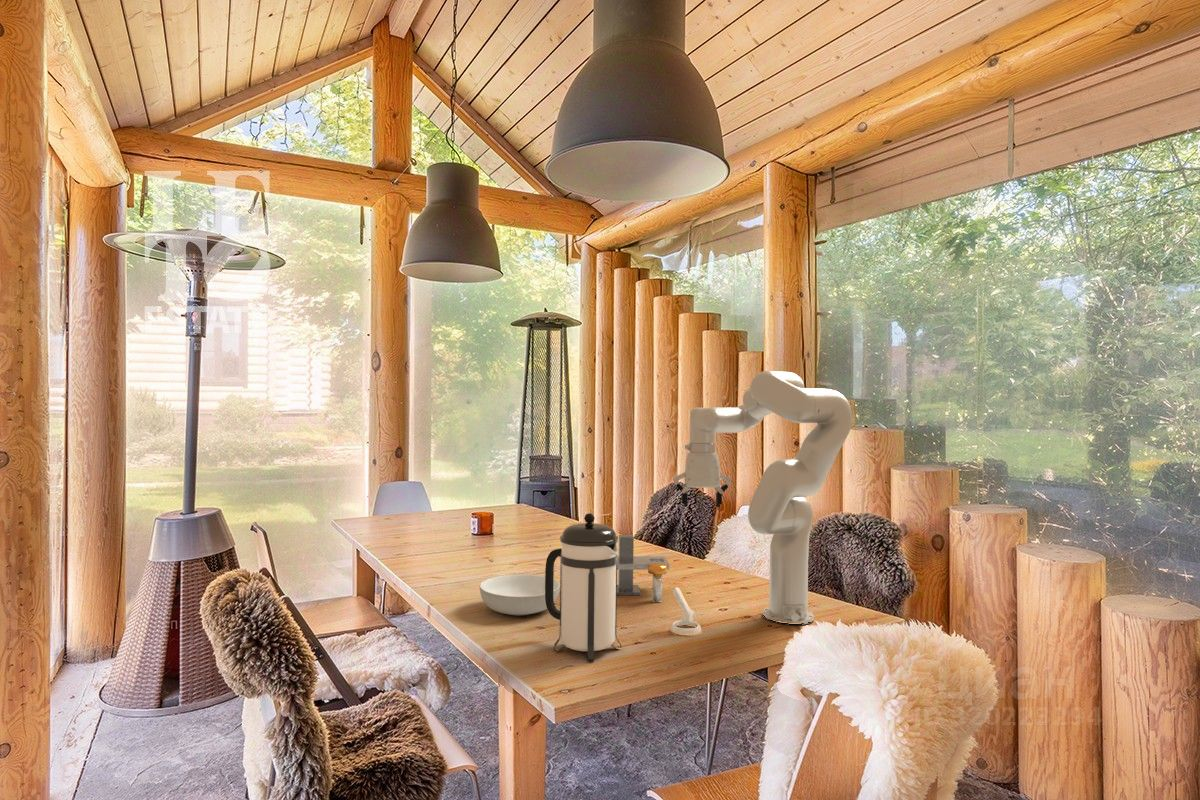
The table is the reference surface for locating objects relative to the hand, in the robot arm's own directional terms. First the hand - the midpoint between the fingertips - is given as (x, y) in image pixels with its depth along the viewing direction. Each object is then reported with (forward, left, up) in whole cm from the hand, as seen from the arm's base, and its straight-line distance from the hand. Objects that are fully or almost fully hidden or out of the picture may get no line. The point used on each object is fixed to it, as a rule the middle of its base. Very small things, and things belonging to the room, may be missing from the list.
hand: (701, 506), depth 201 cm
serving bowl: (-22, +52, -24) cm, 61 cm away
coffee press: (-50, +36, -24) cm, 67 cm away
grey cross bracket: (-4, +19, -24) cm, 31 cm away
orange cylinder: (-14, +15, -24) cm, 32 cm away
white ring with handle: (-38, +11, -24) cm, 47 cm away
